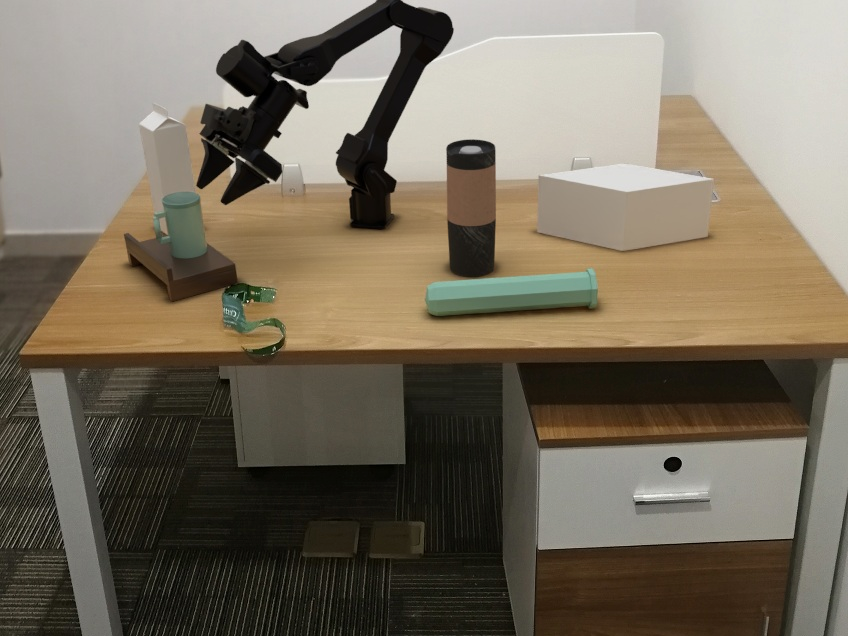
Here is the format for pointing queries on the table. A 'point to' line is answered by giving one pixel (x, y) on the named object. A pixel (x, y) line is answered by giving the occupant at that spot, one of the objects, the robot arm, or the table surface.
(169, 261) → the shelf
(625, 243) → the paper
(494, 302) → the container
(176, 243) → the green mug
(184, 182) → the milk
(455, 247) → the travel mug
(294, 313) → the table surface
